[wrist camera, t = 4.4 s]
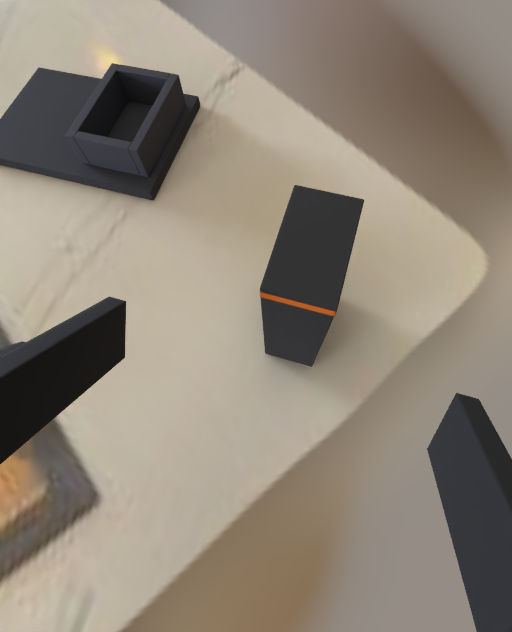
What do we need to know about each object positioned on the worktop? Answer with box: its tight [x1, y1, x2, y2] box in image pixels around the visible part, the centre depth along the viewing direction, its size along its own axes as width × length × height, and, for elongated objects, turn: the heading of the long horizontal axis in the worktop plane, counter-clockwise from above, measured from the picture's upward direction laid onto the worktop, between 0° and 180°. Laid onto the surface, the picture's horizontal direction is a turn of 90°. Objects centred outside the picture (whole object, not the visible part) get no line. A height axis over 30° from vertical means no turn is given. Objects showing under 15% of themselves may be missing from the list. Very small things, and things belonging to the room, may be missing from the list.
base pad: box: [0, 64, 200, 200], centre depth 33 cm, size 18×12×4 cm, turn 73°
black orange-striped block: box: [260, 185, 364, 366], centre depth 22 cm, size 4×6×11 cm, turn 163°
